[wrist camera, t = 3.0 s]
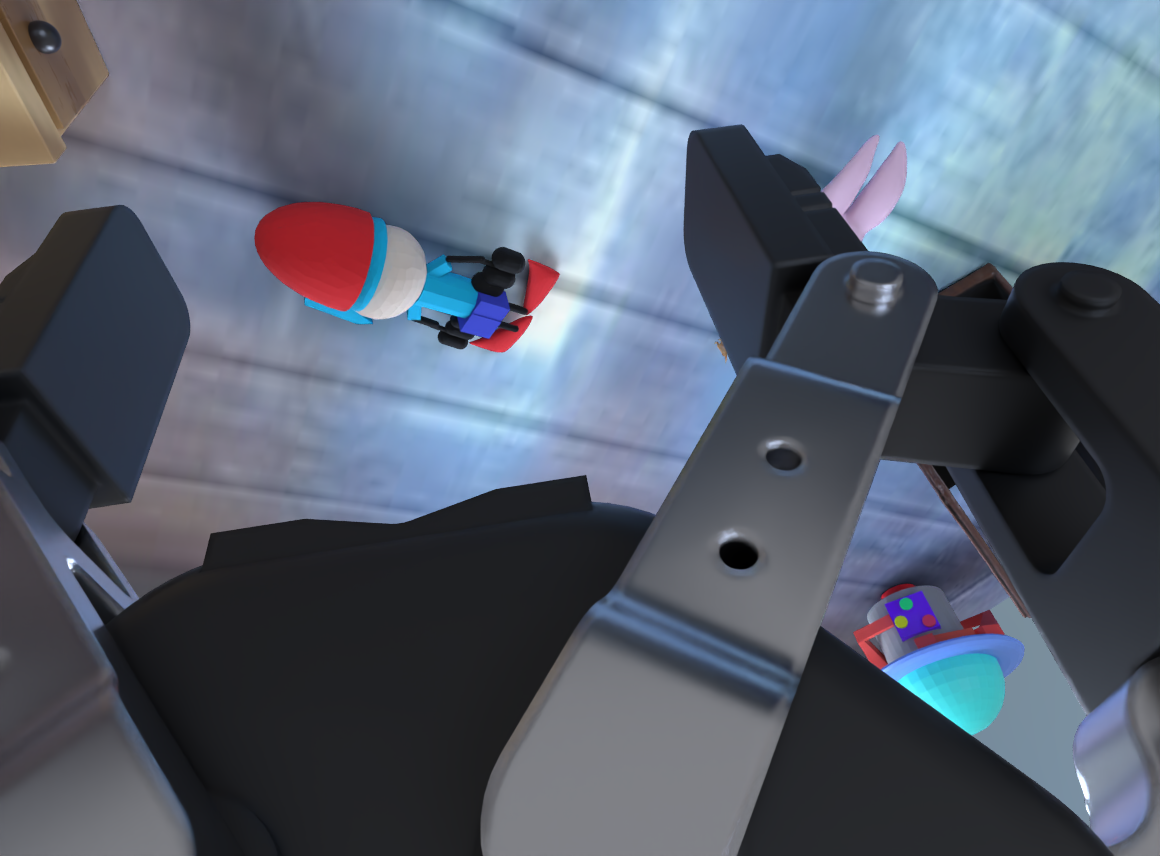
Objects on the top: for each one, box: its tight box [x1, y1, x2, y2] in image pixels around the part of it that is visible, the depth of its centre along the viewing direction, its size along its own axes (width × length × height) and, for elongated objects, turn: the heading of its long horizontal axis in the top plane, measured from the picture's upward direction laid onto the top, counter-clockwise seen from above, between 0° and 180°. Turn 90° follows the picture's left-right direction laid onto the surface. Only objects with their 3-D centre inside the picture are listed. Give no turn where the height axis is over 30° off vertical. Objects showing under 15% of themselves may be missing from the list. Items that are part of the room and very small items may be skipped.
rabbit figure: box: [715, 135, 907, 363], centre depth 39 cm, size 6×6×15 cm
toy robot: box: [853, 584, 1024, 735], centre depth 68 cm, size 15×15×14 cm
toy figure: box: [255, 202, 560, 352], centre depth 37 cm, size 8×5×15 cm
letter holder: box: [917, 263, 1106, 618], centre depth 47 cm, size 10×20×14 cm, turn 38°
